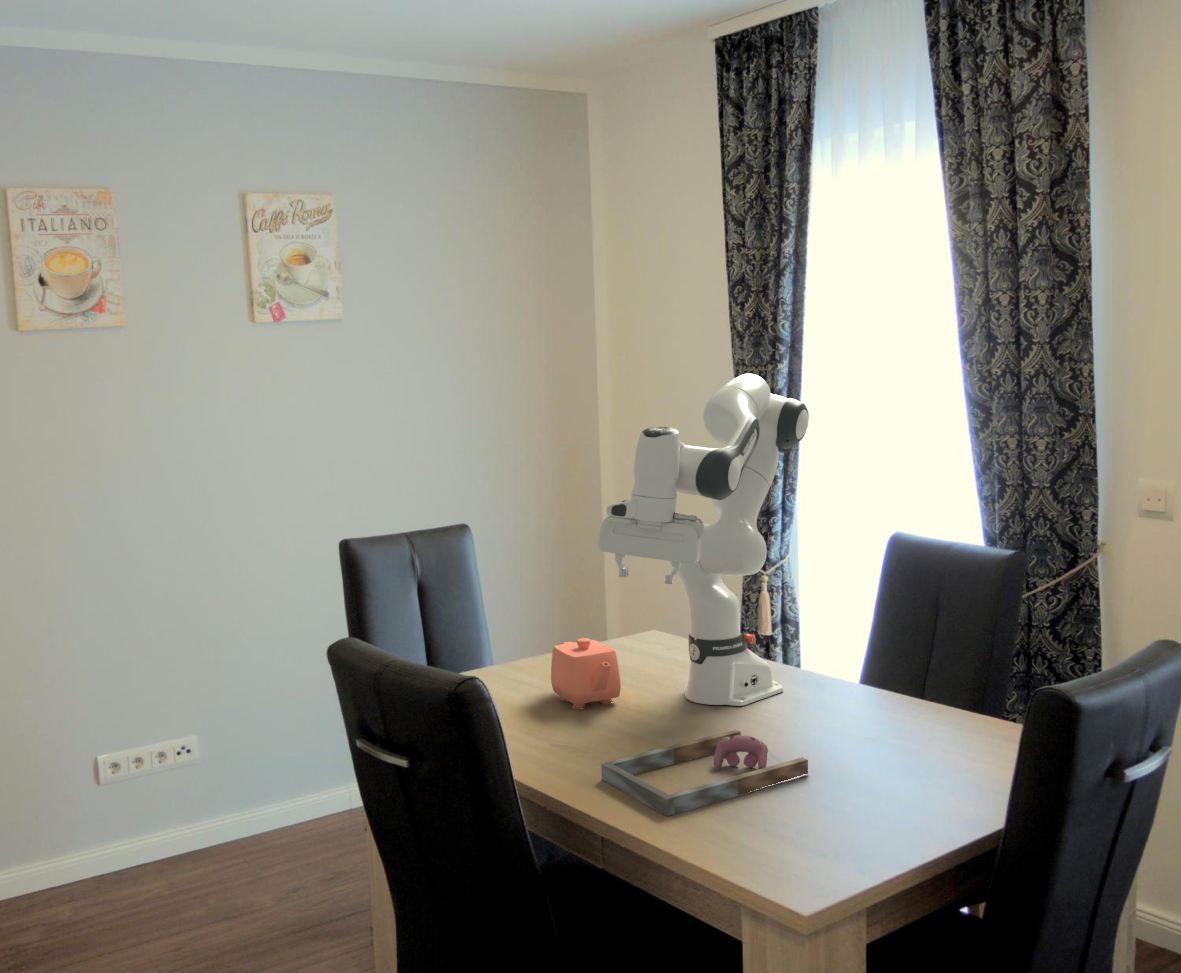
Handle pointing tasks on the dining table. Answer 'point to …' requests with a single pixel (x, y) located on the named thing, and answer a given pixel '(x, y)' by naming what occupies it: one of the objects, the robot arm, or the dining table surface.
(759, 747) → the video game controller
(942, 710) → the dining table surface
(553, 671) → the teapot
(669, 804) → the u-shaped rail frame
